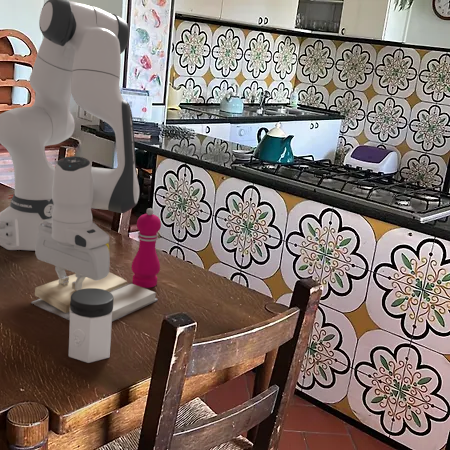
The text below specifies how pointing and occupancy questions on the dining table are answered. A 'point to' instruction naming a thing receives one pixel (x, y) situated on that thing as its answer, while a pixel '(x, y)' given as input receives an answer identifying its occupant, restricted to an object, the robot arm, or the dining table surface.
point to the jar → (90, 324)
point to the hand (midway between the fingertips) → (70, 286)
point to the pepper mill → (146, 251)
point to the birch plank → (62, 294)
